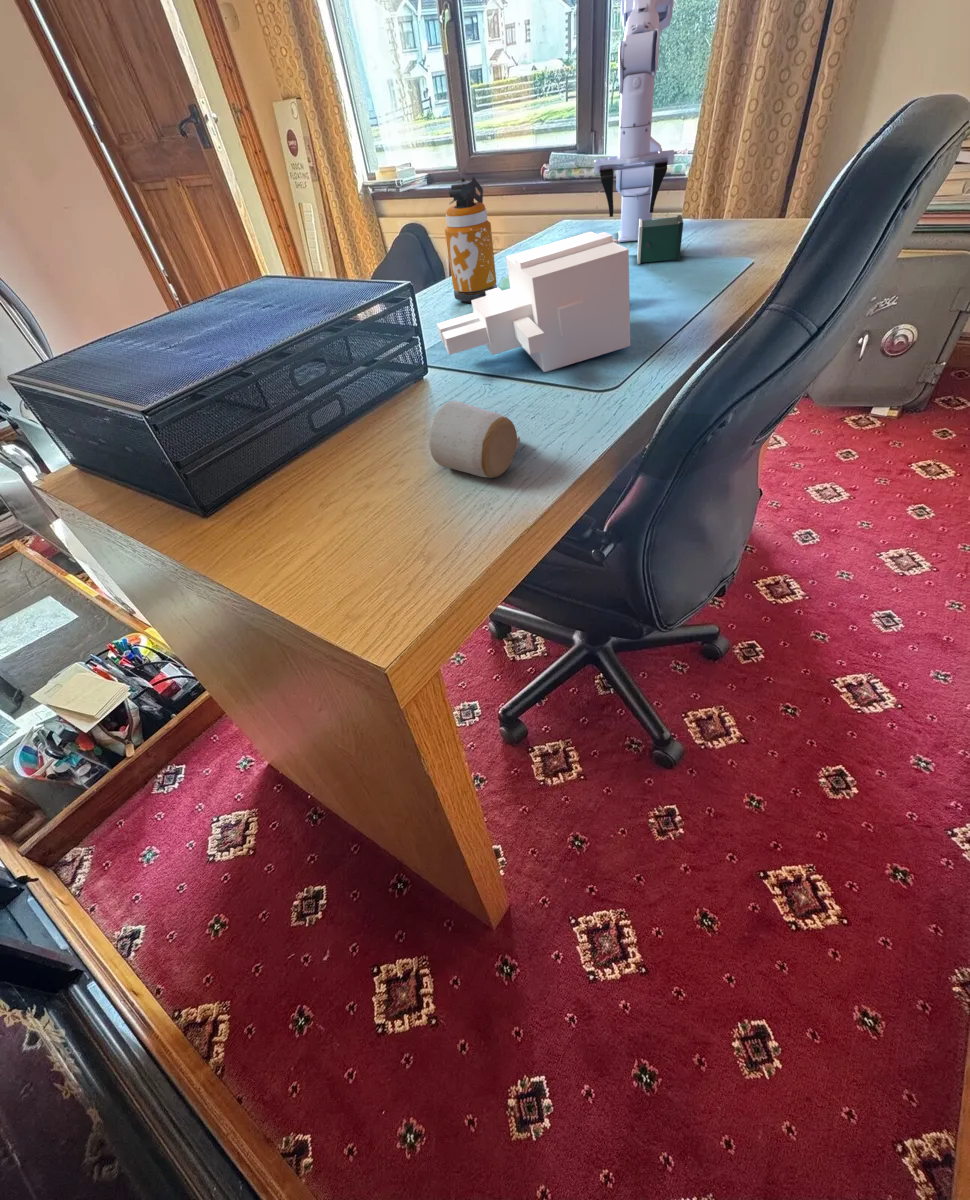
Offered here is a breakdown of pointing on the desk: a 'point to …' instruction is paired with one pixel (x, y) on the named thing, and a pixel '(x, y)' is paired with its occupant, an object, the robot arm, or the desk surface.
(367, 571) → the desk surface
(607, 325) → the blocky voxel creature
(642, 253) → the green and cream block
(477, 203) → the canister
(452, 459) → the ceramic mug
